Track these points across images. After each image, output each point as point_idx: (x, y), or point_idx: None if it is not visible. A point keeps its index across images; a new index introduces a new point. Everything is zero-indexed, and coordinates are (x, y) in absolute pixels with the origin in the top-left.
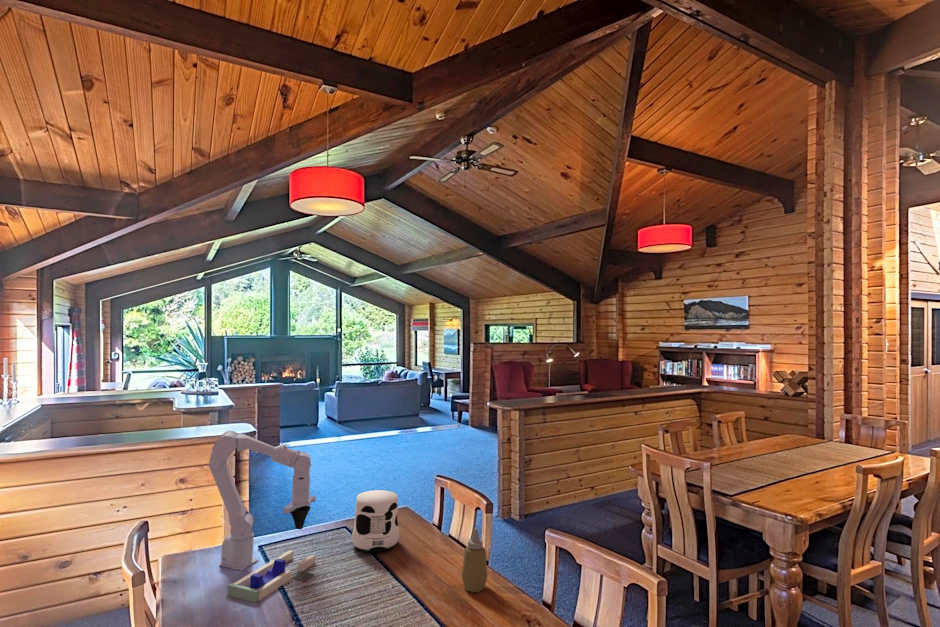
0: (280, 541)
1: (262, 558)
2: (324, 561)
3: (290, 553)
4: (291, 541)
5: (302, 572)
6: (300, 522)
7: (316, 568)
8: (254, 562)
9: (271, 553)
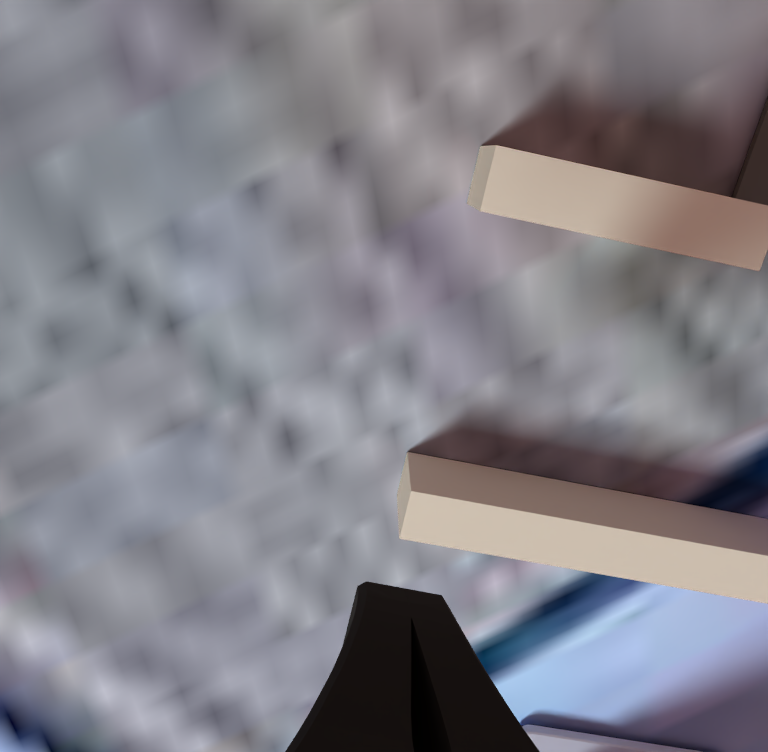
0: (56, 742)
1: None
2: (419, 34)
3: (465, 495)
4: (16, 651)
5: (765, 177)
6: (510, 718)
7: (628, 54)
8: (576, 733)
9: None
